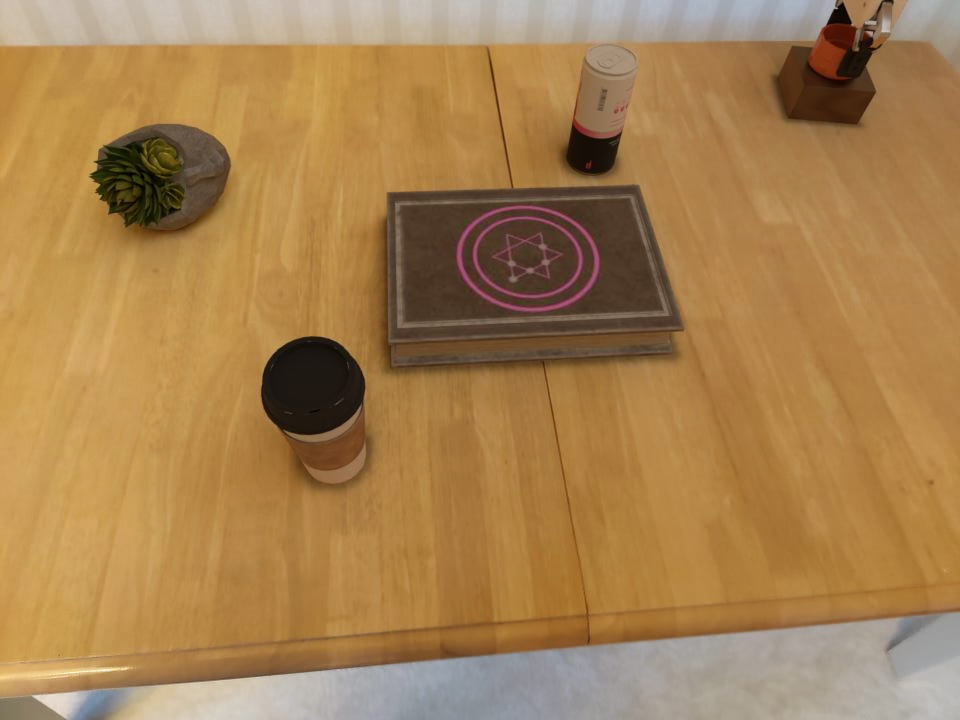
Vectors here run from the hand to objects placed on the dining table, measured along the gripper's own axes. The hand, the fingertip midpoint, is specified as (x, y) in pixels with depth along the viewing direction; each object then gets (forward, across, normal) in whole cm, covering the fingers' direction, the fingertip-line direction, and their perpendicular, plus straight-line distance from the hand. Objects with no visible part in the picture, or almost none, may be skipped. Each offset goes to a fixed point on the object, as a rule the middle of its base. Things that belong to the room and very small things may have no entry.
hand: (839, 56), depth 94 cm
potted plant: (+7, -35, +85) cm, 92 cm away
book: (+7, -41, +42) cm, 59 cm away
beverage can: (+7, -18, +34) cm, 39 cm away
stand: (+7, 0, 0) cm, 7 cm away
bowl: (+2, 0, 0) cm, 2 cm away
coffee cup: (+7, -65, +59) cm, 88 cm away
